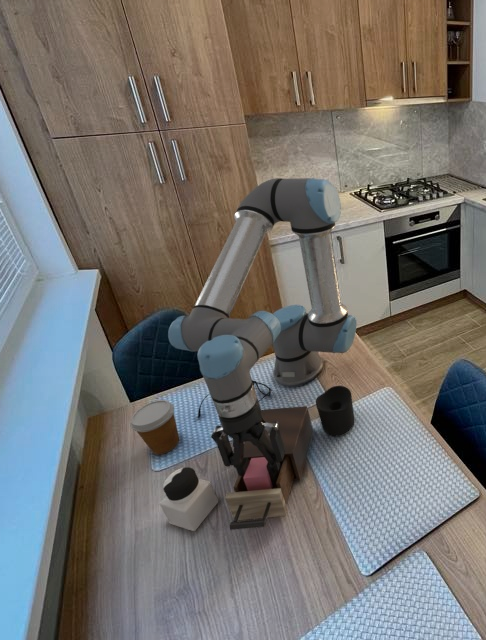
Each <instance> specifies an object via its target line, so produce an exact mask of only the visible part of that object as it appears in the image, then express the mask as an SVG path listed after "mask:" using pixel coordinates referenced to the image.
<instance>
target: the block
mask: <svg viewBox="0 0 486 640" xmlns="http://www.w3.org/2000/svg"><path fill="white" fill-rule="evenodd" d="M267 463H268V461H267V460H266V458H265V457H259V458H251V460H250V463H249V465H248V468H247V470H246V473H245V475H244V477H243V479H244V482H245V484H246V487H247V490H248V491H255V490H266V489H272V487H273V485H272V482H271V479H270V476H269V473H268V470H267V467H266V466H267Z"/></svg>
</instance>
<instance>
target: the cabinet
mask: <svg viewBox="0 0 486 640" xmlns="http://www.w3.org/2000/svg"><path fill="white" fill-rule="evenodd" d="M261 412H262V417H263V418H264V419H265V420H266V423H273V424H274V422H275V421H279V422H280V425H279V431H280V434H281V437H282V441H283V444H284V447H285V450H286V452H285V455H284V456H290V458H291V461H292V465H293V468H294V472H295V475H294V479H293V482H297V481H301V479H302V475H303V472H304V468H305V465H306V461H307V457H308V454H309V449H310V447H311V442H312V438H313V435H314V429H313V428H314V427H313V423H312V421H311V416H310V412H309V407H308V405H305V406H304V405H303V406H293V407H292V406H291V407H277V408H266V409H261ZM264 431H265V436H266V437H267V438H268V440H269V441H270V435H268V433H267V430H265V429H264ZM270 443H271V441H270ZM244 454H245V455H244V457H243V459H244V458H248V460H249V459H251V458H259V457H264V456H263V454H262V453H261V452H260V450H259V449H258V448H257V446H254V445H253V444H252V443H251V442H250V441H246V442H244Z"/></svg>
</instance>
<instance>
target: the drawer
mask: <svg viewBox="0 0 486 640" xmlns="http://www.w3.org/2000/svg"><path fill="white" fill-rule="evenodd" d="M250 460H251V459H249V463H250ZM294 475H295V472H294V468H293V465H292V461H291V458H290V456H284V458H283V461H282V462H280V468H279V476H278V479H277V482H276V486H273V487H272V489H266V490H255V491H248V490H247V488H246V485H245V482H244V479H243V477H242V476H239V475H238V474H237V477H236V479H235V482H234V484H233V487H232V488H233V490H234V492H233V491H232V492H227V493H226V494H225V497H224V500H225V501H226V505H227V507H228V509H229V511H230V514H231V516H232V519H233V520H232V521H231V522H230V523H229V527H228V528H229V530H230V531H235V530H245V529H255V528H256V529H257V528H265V527H266V525H267V521H268V520H267V518H276V517H286V516H288V511H289V509H288V507H287V503H288V499H289V497H290V492H291V489H292V485H293V482H294V481H293V479H294Z"/></svg>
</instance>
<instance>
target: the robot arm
mask: <svg viewBox="0 0 486 640" xmlns="http://www.w3.org/2000/svg"><path fill="white" fill-rule="evenodd" d="M341 203H342V201H341V198H340V193H339V192H338V190H337V188H336V187H335V185H334V184H333V183H332V182H331V181H329V180H328V179H322V178H321V179H320V178H314V177H310V178H309V177H308V178H307V177H304V178H303V177H301V178H299V177H296V178H295V177H294V178H281V177H277V178H270V179H268V180H265V181H263V182H261V183H259V184H258V185H257V186H255V187H254V188H253V189H252V190H250V191H249V193H248V194H247V195H246V196H245V197H244V199H242V201H241V202H240V204H239V205H238V207H237V209H236V211H235V213H234V215H233V217H234V220H235V222H234V225H233V227H232V229H231V231H230V233H229V234H228V237H227V239H226V241H225V243H224V245H223V247H222V250H221V252H220V253H219V255H218V257H217V259H216V260H215V261H216V262H215V263H214V266H213V267H212V269H211V271H210V273H209V275H208V278H207V279H206V282H205V284H204V286H203V287H202V290H201V292H200V294H199V295H198V298H197V299H196V302H195V304H194V306H193V308H192V309H191V311H190V313H189V314H185V315H180V316H178V317H176V319H175V320H173V321H172V322H171V324H170V326H169V328H168V333H167V337H168V341H169V343H170V345H171V346H172V347H173V348H174V349H177V350H181V351H189V352H193V353H196V352H197V360H198V364H199V371H200V373H201V375H202V377H203V380H204V382H205V384H206V387H207V389H208V392H209V395H210V397H211V399H212V402H213V405H214V408H215V411H216V413H217V417H218V419H219V422H220V425H219V424H218V425H216V426H215V428H214V429H213V431H212V433H211V435H210V438H211V439H212V440H213V442H215V443H216V447H217V448H218V452H219V454H220V457H221V460H222V463H223V465H224V467H226V468H229V467H230V466H233V468H235V470H236V473H237V476H238V475H239V476H242V477H244V475H245V473H246V470H247V468H248V465H249V460H248V458H244V459H243V457H244V455H245V454H244V443H245V442H246V441H250V442H251V443H252V444H253V445H254V446H257V448H258V449H259V450H260V452H261V453H262V454H263V456H264V457H265V458H266V460H267V461H268V463H267V466H266V467H267V470H268V473H269V476H270V479H271V482H272V485H273V486H276V482H277V479H278V476H279V468H280V462H282V461H283V458H284V455H285V452H286V450H285V447H284V444H283V441H282V437H281V434H280V431H279V425H280V422H279V421H275V422H274V424H273V423H266V420H265V419H264V418H263V417H262V412H261V410H262V407H261V404H260V401H259V398H258V395H257V391H256V387H255V384H254V385H253V382H252V380H253V378H252V375H251V369H252V368H253V367H254V366H255V365H256V363H257V362H258V361H259V360H260V359H261V358H262V357H263V355H264V354H265V353H266V352H267V351H268V350H269V349H270V347H271V346H272V348H273V353H274V355H275V361H274V366H273V367H274V369H273V376H274V381H275V382H276V383H277V384H278V385H279V386H282V387H287V388H297V387H301V386H304V385H307V384H308V383H311V382H313V381H314V380H315V379H316V378H318V376H320V374H321V373H322V371H323V370H324V369H323V368H324V363H323V359H322V357H321V355H320V354H319V353H332V354H345V353H347V352H348V351H349V350H350V349H351V347H352V346H353V343H354V340H355V336H356V334H357V333H356V332H357V318H356V317H355V316H354V315H352V314H349V312H348V307H347V306H346V305H345V304H344V303H342V299H341V292H340V287H339V279H338V273H337V266H336V260H335V259H336V258H335V252H334V246H333V238H332V231H333V230H334V228H335V227H336V223H337V222H338V221H339V220H340V218H341V214H342V212H341V209H342V204H341ZM280 222H283V223H284V222H285V223H289V224H290V229H291V232H292V233H293V234H295V235H296V236H298V241H299V245H300V250H301V251H300V252H301V256H302V262H303V268H304V273H305V278H306V284H307V288H308V295H309V301H310V306H311V309H310V310H309V311H308V312H307V309H306V307H305V306H304V305H301V304H290V305H286V306H284V307H282V308H279V309H276V311H274V312H273V313H271V312H270V311H267V310H258V311H255V312H254V313H252V314H250V315H249V316H248V318H232V317H231V318H230V316H231V314H232V312H233V308H234V307H235V304H236V302H237V300H238V298H239V295H240V294H241V291H242V288H243V286H244V284H245V281H246V279H247V277H248V275H249V273H250V270H251V269H252V266H253V264H254V261H255V259H256V257H257V254H258V252H259V250H260V248H261V246H262V243H263V241H264V240H265V237H266V234H269V233H270V232H272V231H273V229H274V226H275V225H276V224H278V223H280ZM264 429H265V430H267V433H268V435H270V441H271V443H270V441H269V440H268V438H267V437H266V436H265V431H264ZM229 437H230V438H231V439H232V443H231V442H230V438H229ZM245 485H246V484H245ZM246 488H247V487H246Z"/></svg>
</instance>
